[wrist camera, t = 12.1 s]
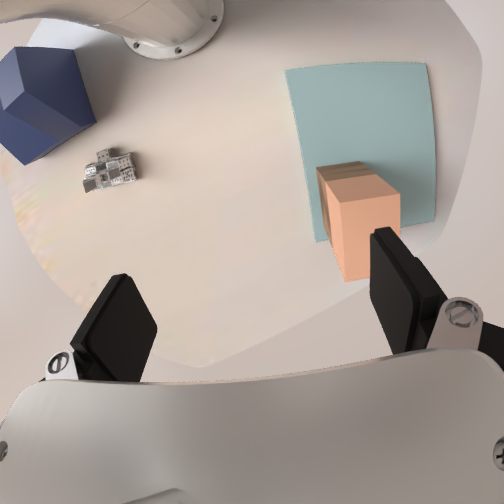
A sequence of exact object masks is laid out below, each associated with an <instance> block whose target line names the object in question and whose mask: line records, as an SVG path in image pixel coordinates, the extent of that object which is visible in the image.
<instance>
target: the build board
mask: <svg viewBox="0 0 504 504" xmlns="http://www.w3.org/2000/svg"><path fill="white" fill-rule="evenodd" d="M285 76H286V80H287V84H288V89H289V93H290V98H291V103H292V107H293V112H294V117H295V122H296V127H297V132H298V137H299V142H300V148H301V153H302V159H303V164H304V170H305V176H306V182H307V188H308V195H309V201H310V208H311V214H312V221H313V228H314V236H315V240H316V242H320V241H326V240H329V238H328V236H327V233H326V231H325V229H324V224H323V216H322V209H321V201H320V194H319V187H318V180H317V174H316V167H321V166H327V165H334V164H341V163H348V162H355V161H360V162H361V163H363V164H364V165H365V166H366V167H368V168H369V169H370V170H372V171H373V172H374V173H376V174H377V175H378V176H379V177H380V178H382V179H383V180H384V181H385V182H387V183H388V184H389V185H390V186H391V187H393V188H394V189H395V190H396V191H397V192H399V193H400V227H404V226H410V225H416V224H421V223H427V222H432V221H434V217H435V193H436V159H435V136H434V123H433V112H432V103H431V95H430V87H429V81H428V74H427V68H426V64H424V63H401V62H373V63H349V64H335V65H324V66H314V67H306V68H298V69H291V70H285Z"/></svg>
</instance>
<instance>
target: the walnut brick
mask: <svg viewBox="0 0 504 504" xmlns="http://www.w3.org/2000/svg"><path fill="white" fill-rule="evenodd" d="M316 174H317V180H318V187H319V194H320V201H321V209H322V216H323V224H324V229H325V231H326V233H327V236H328V238H329V241H330V243H331V245H332V235H331V225H330V216H329V208H328V200H327V192H326V184H325V182H326V181H332V180H339V179H346V178H352V177H359V176H366V175H374V174H376V173H374V172H373V171H372V170H370V169H369V168H368V167H366V166H365V165H364V164H363V163H361V162H360V161H355V162H348V163H341V164H334V165H327V166H321V167H316ZM376 175H377V174H376ZM332 248H333V245H332Z"/></svg>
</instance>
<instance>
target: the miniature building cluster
mask: <svg viewBox="0 0 504 504" xmlns="http://www.w3.org/2000/svg"><path fill="white" fill-rule="evenodd" d="M96 154H97V158H98V162H99V163H96V164H92V165H90V164H88V165H87V166H86V167H85V173H86V176H85V178H86V179H84V181H83V185H84V188H85V192H86V193H87V192H89V191H91V190H92V191H95V190H98V189H102V188H103V189H104V188H109V187H113V186H114V185H116V184H119V183H128V182H133V181H136V180H137V175H136V171H135V167H136V166H135V167H132V166H134V165H133V161H132V156H131V152H130V153H128V155H124V156H120V157H114V158H112V157H113V153H112V149H111V148H109V149H107V150H105V151H103V150H102V151H100V152H98V153H96ZM110 158H111V159H110ZM105 160H106V162H103V161H105ZM100 162H103V163H100Z"/></svg>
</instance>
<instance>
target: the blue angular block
mask: <svg viewBox="0 0 504 504" xmlns="http://www.w3.org/2000/svg"><path fill="white" fill-rule="evenodd" d="M95 123H97V122H96V119H95V117H94V114H93V111H92V108H91V105H90V102H89V99H88V96H87V93H86V90H85V87H84V84H83V81H82V77H81V74H80V71H79V67H78V64H77V61H76V57H75V53H74V50H70V49H59V48H45V47H14V48H13V49H12V50H11V51H10V52H9V53H8V54H7V55H6V56H5V57H4V58H3V59H2V60H1V61H0V143H1V144H2V145H3V146H4V147H5V148H6V149H7V150H8V151H9V152H10V153H11V154H13V155H14V156H15V157H16V158H17V159H18V160H19V161H20V162H21V163H22V164H23V165H27V164H29V163H31V162H34V161H36V160H38V159H40V158H42V157H43V156H45V155H46V154H47V153H49V152H50V151H52V150H53V149H55V148H56V147H58V146H59V145H61V144H62V143H64V142H65V141H67V140H68V139H70V138H72V137H73V136H75V135H76V134H78V133H80V132H81V131H83V130H85V129H86V128H88V127H90V126H92V125H93V124H95Z"/></svg>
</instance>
